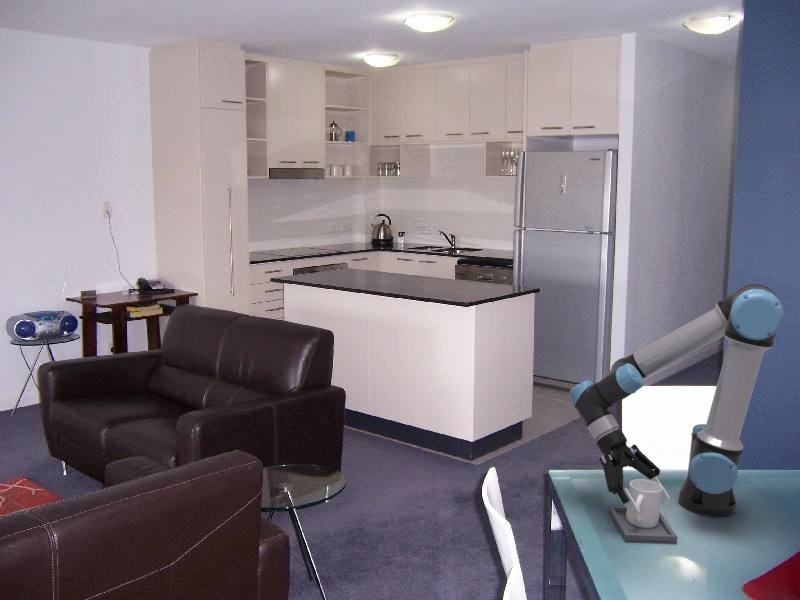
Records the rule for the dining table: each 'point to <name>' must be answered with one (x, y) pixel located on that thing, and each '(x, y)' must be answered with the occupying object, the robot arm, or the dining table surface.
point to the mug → (645, 503)
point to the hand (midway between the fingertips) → (651, 507)
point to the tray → (642, 529)
